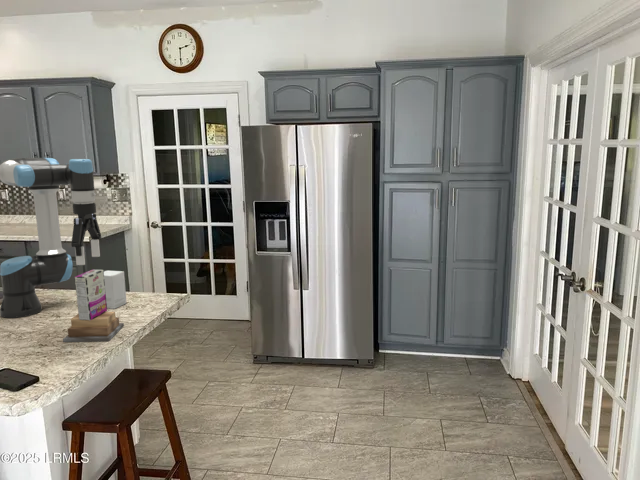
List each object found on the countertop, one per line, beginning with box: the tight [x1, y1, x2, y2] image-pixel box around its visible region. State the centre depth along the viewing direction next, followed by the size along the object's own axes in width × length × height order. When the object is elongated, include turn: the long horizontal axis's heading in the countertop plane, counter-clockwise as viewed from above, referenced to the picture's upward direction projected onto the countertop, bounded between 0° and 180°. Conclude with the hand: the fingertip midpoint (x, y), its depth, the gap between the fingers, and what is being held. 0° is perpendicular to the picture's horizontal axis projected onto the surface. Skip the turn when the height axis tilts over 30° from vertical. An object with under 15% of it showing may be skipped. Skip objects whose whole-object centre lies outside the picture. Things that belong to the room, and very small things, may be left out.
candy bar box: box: [74, 269, 108, 320], centre depth 183 cm, size 11×5×16 cm, turn 172°
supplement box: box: [103, 270, 127, 310], centre depth 219 cm, size 9×9×15 cm
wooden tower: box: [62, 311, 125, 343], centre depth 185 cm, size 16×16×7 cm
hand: (88, 260), depth 181 cm, fingers open, 13 cm apart
